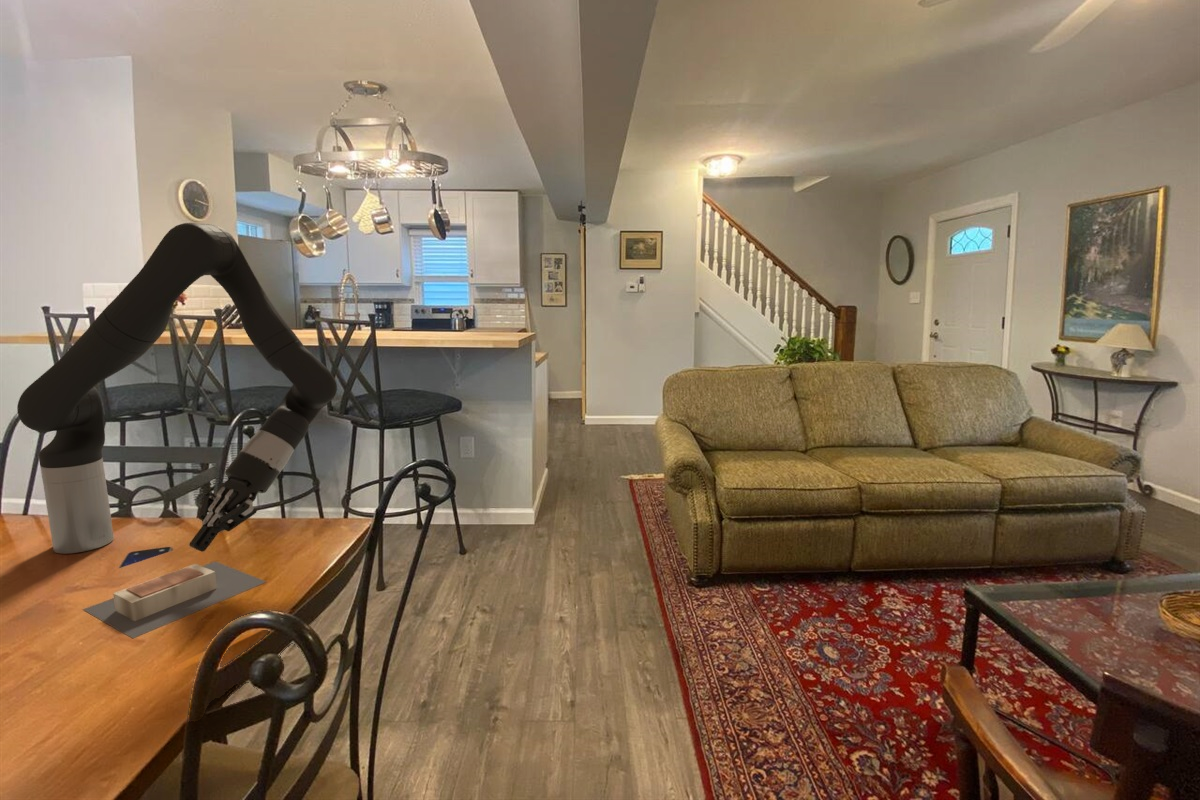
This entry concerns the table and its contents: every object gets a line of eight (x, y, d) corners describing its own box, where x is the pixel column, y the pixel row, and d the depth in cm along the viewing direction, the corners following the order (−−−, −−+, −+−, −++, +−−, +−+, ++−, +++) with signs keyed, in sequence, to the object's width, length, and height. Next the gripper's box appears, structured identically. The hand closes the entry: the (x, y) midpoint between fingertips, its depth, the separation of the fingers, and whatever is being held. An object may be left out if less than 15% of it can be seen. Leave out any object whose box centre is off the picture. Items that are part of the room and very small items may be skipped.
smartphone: (173, 545, 119) (158, 577, 105) (174, 550, 119) (159, 582, 106) (127, 551, 115) (106, 585, 102) (128, 556, 115) (106, 590, 102)
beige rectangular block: (197, 579, 104) (115, 610, 93) (195, 562, 103) (112, 591, 93) (217, 588, 101) (134, 621, 91) (215, 570, 100) (132, 601, 90)
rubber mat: (83, 614, 94) (82, 609, 94) (215, 565, 111) (215, 561, 111) (133, 643, 86) (132, 638, 86) (267, 586, 103) (267, 581, 103)
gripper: (223, 445, 109) (156, 531, 101) (267, 455, 103) (198, 548, 94) (255, 466, 115) (193, 549, 106) (298, 477, 108) (235, 566, 100)
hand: (196, 548), depth 100 cm, fingers closed
